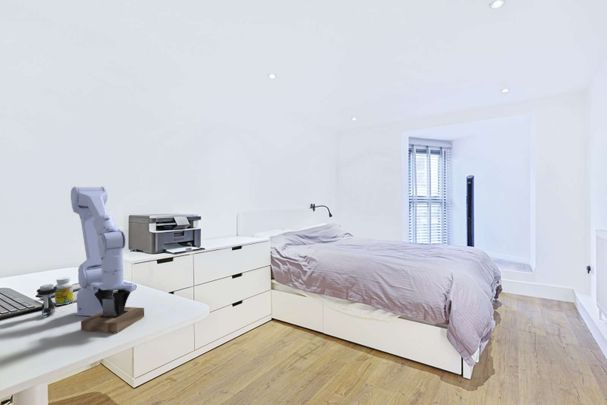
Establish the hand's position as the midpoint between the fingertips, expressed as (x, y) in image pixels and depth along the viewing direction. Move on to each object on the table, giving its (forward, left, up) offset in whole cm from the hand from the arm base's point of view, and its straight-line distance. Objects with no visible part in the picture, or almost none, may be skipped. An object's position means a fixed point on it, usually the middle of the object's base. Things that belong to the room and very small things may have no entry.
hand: (114, 312), depth 97 cm
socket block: (0, 0, -3) cm, 3 cm away
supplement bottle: (-33, +14, -4) cm, 36 cm away
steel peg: (0, 0, -2) cm, 2 cm away
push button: (-28, +3, -4) cm, 28 cm away
